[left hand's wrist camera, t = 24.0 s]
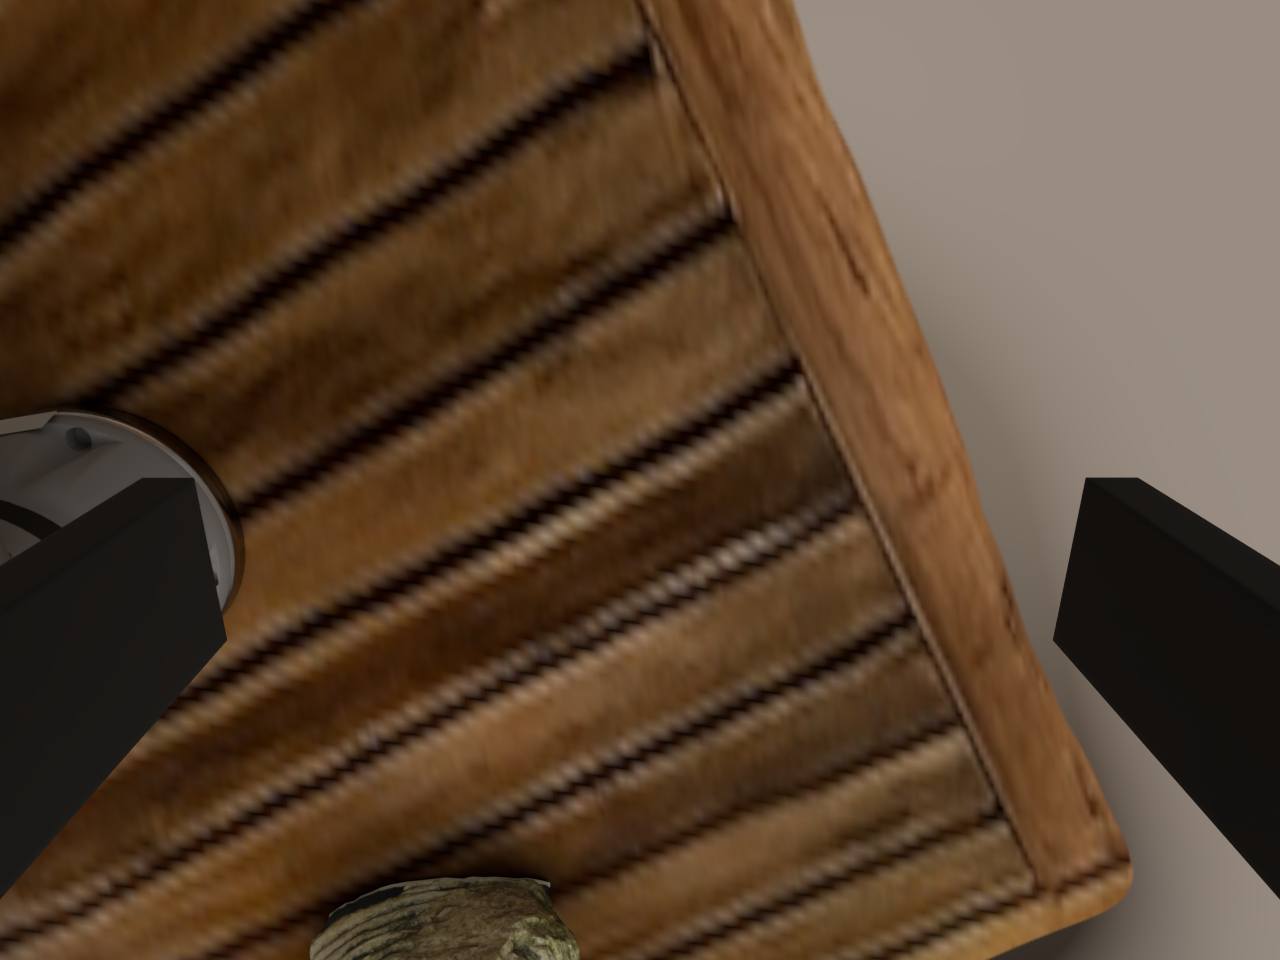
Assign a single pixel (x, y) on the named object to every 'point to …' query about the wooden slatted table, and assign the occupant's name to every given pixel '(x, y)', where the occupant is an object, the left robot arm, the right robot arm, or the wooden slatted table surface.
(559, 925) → the fossil
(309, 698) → the wooden slatted table surface
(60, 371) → the wooden slatted table surface
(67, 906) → the wooden slatted table surface
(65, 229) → the wooden slatted table surface
